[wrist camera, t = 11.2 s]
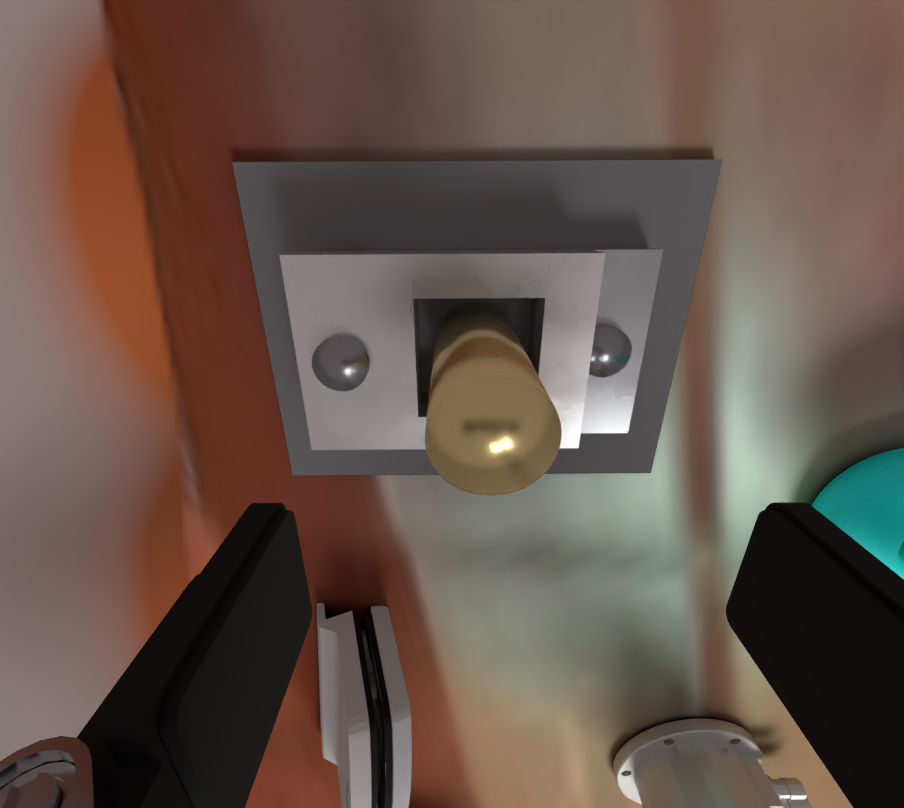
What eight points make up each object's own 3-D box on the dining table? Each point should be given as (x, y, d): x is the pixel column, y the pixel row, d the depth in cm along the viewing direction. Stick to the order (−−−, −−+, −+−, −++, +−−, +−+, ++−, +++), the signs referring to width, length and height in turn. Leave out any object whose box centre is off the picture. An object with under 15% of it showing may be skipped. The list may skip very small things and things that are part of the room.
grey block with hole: (648, 246, 20) (687, 253, 16) (617, 419, 23) (644, 453, 20) (303, 248, 20) (274, 256, 16) (327, 421, 23) (308, 455, 20)
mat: (715, 160, 19) (722, 159, 18) (647, 468, 25) (650, 472, 25) (237, 163, 19) (232, 162, 18) (295, 470, 25) (292, 475, 25)
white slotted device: (316, 599, 30) (330, 760, 21) (383, 585, 31) (420, 730, 23) (321, 736, 37) (333, 898, 28) (375, 719, 38) (402, 867, 30)
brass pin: (516, 302, 21) (569, 375, 12) (512, 378, 22) (554, 494, 13) (434, 302, 21) (422, 376, 12) (436, 379, 22) (426, 495, 13)
